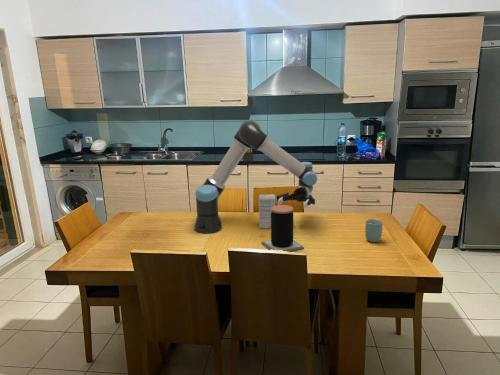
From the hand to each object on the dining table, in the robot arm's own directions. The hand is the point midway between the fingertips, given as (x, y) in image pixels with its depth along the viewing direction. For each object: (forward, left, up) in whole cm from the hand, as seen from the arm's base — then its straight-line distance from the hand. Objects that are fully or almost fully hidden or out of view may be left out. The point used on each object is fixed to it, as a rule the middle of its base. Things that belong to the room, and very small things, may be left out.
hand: (291, 204), depth 184 cm
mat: (+7, -10, -18) cm, 22 cm away
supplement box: (-22, -3, -18) cm, 28 cm away
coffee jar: (+7, -10, -17) cm, 21 cm away
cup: (+22, +33, -18) cm, 44 cm away
